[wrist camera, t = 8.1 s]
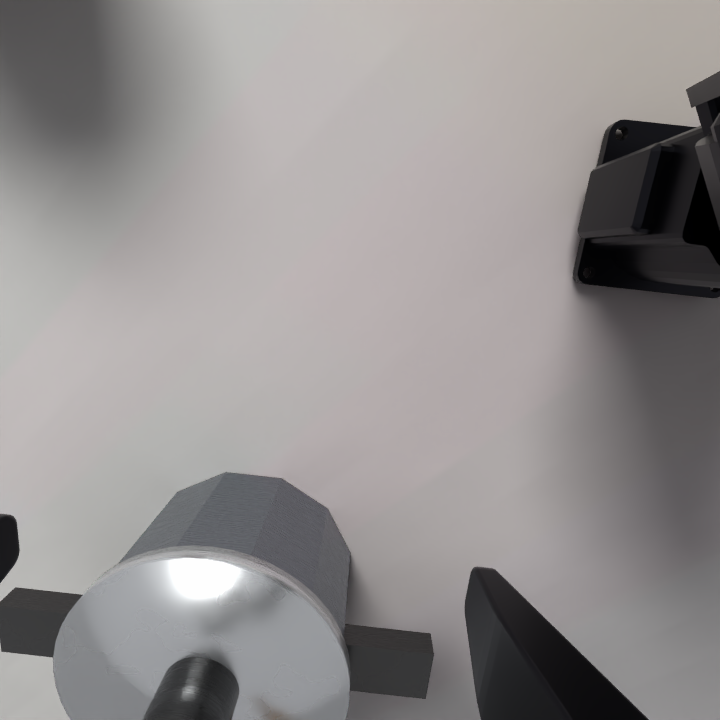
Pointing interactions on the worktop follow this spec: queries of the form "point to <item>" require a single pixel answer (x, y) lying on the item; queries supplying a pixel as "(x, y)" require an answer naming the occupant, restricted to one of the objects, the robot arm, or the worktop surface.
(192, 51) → the worktop surface
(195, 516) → the pot
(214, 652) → the lid
